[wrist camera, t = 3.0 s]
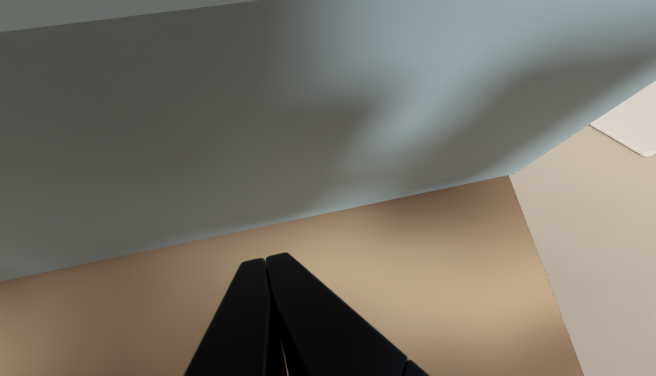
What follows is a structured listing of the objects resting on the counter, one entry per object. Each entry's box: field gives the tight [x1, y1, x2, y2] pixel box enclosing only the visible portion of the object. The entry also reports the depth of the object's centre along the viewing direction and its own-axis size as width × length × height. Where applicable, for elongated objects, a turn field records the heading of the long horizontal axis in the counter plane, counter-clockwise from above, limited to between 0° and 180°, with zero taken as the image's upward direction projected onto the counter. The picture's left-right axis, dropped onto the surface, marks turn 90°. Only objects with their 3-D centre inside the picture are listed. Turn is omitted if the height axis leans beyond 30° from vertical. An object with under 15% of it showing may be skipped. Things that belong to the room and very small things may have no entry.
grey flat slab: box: [0, 0, 656, 282], centre depth 9 cm, size 2×18×10 cm, turn 104°
